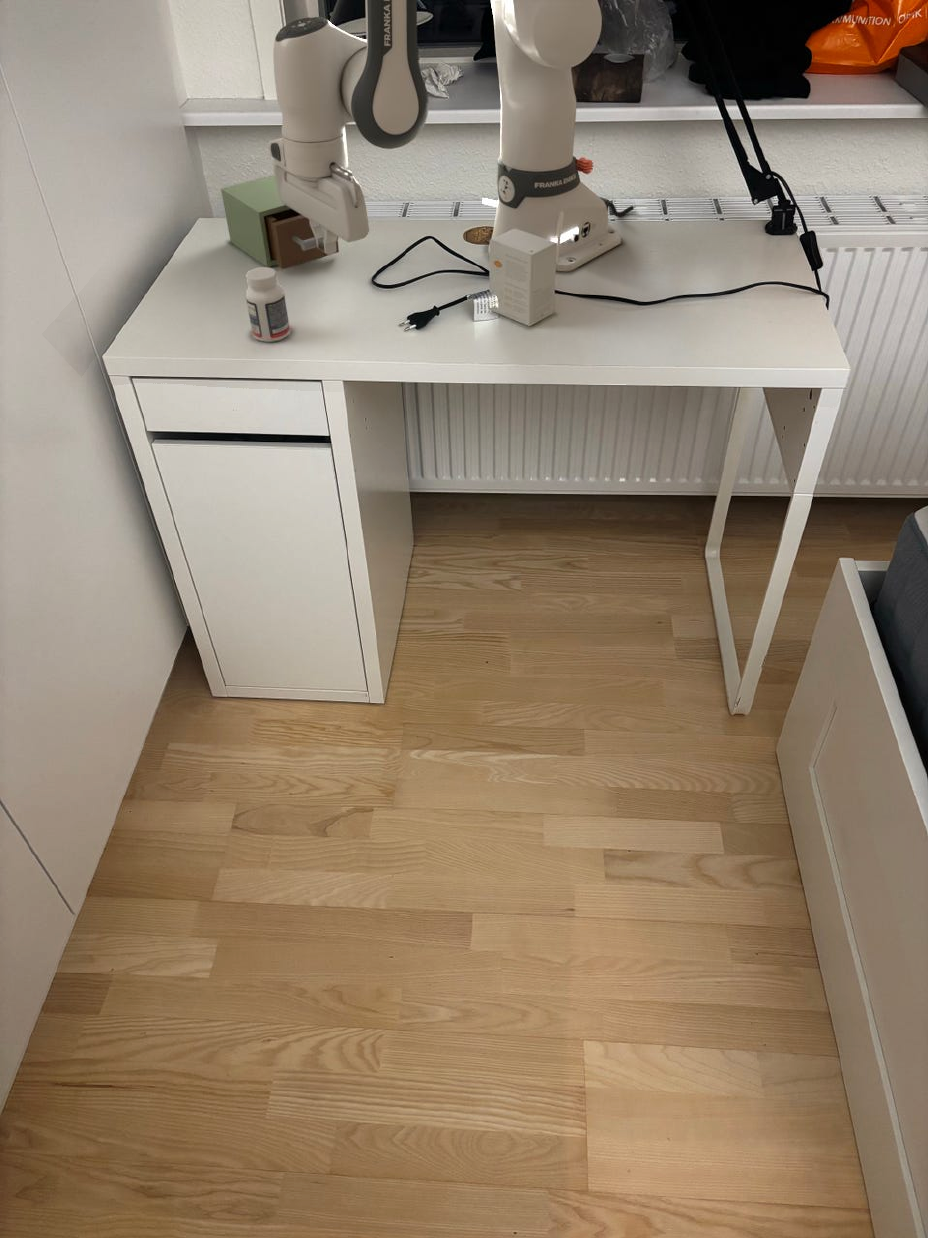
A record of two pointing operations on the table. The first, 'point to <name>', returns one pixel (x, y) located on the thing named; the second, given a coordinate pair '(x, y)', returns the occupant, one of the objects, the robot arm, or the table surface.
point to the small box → (522, 275)
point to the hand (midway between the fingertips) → (326, 250)
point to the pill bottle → (266, 305)
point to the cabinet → (252, 215)
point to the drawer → (291, 239)
